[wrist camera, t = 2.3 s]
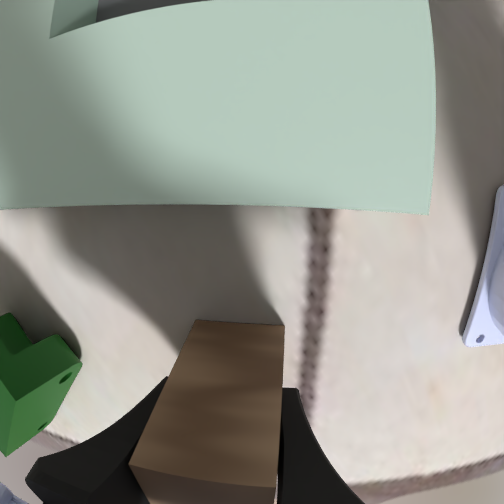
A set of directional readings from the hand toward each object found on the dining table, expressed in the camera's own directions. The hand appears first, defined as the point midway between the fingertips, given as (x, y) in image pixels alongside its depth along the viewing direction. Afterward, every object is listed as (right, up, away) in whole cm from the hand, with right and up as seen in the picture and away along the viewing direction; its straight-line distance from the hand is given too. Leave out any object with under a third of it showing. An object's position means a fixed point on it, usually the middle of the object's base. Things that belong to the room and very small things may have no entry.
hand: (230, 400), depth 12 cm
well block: (-3, +17, -3) cm, 18 cm away
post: (0, +1, +3) cm, 3 cm away
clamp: (-14, -1, +6) cm, 15 cm away
